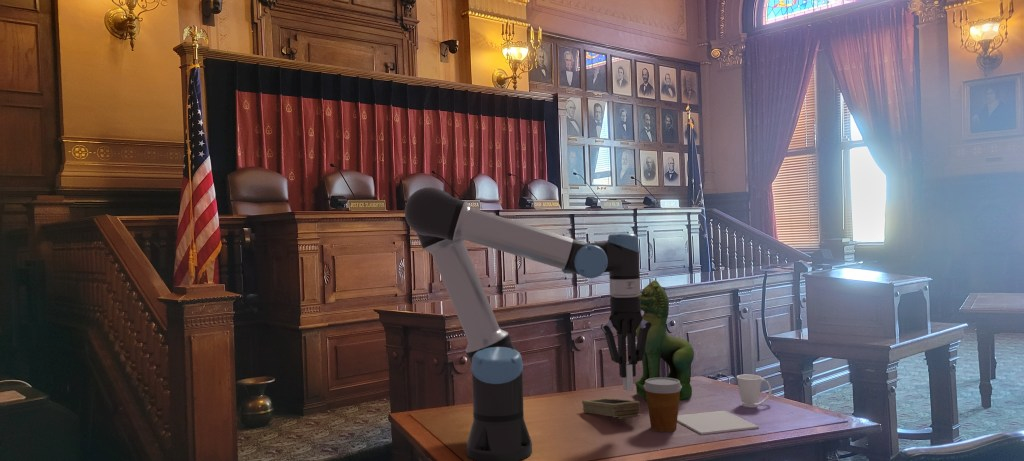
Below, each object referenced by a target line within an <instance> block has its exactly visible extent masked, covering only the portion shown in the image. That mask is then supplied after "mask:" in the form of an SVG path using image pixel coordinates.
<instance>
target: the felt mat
mask: <svg viewBox="0 0 1024 461" xmlns="http://www.w3.org/2000/svg"><path fill="white" fill-rule="evenodd" d="M677 423H679V424H681V425H683V426H684V427H686V428H688V429H690V430H692V431H694V432H695V433H697V434H699V435H700V436H702V435H703V436H704V435H710V434H721V433H728V432H730V433H731V432H737V431H746V430H747V431H748V430H754V429H755V430H756V429H759V425H757V424H754V423H752V422H750V421H748V420H746V419H743V418H741V417H739V416H737V415H735V414H733V413H730V412H729V411H726V410H719V411H718V410H717V411H716V410H715V411H707V412H698V413H689V414H678V417H677Z"/></svg>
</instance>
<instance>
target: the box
mask: <svg viewBox="0 0 1024 461" xmlns="http://www.w3.org/2000/svg"><path fill="white" fill-rule="evenodd" d="M581 404H582V408H583V409H582V410H583V413H586V414H592V415H593V414H595V415H599V416H600V415H602V416H607V417H608V416H609V417H613V418H612V420H611V421H616V420H622V419H623V420H624V419H627V418H628V419H630V418H636V417H639V414H640V406H641V402H640V401H639V400H638V401H637V400H631V399H630V400H629V399H619V398H598V399H588V400H582V401H581Z"/></svg>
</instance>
